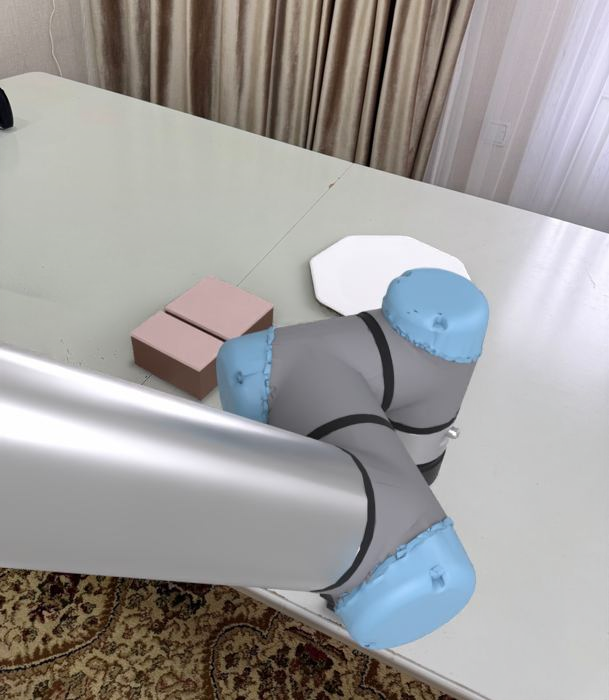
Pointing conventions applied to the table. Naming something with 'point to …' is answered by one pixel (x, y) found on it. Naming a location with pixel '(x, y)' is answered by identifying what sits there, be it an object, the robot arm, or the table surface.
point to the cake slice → (177, 353)
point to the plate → (371, 269)
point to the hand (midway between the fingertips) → (370, 561)
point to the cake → (221, 310)
